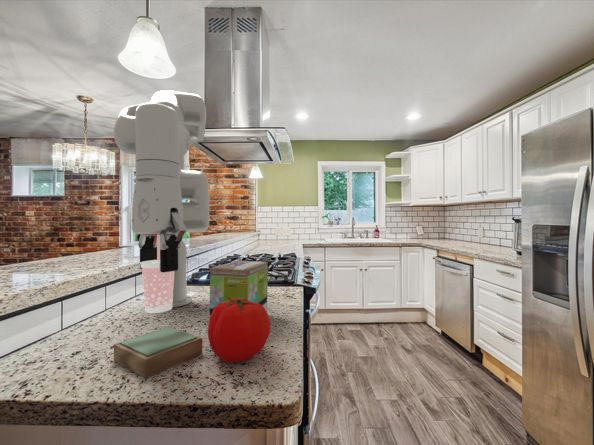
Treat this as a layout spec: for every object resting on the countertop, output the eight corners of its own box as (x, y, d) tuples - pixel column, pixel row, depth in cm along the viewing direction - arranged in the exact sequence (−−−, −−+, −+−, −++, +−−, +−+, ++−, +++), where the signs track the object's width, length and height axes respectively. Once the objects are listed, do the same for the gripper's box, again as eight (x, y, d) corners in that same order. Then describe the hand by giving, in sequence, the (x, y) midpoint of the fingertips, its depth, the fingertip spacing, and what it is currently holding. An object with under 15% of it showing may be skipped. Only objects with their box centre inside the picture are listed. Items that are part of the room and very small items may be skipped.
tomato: (214, 345, 61) (214, 291, 61) (270, 343, 62) (270, 289, 62) (199, 375, 49) (199, 307, 49) (269, 372, 50) (269, 305, 50)
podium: (113, 360, 54) (113, 342, 54) (169, 340, 64) (169, 325, 64) (145, 378, 48) (145, 357, 48) (202, 353, 57) (202, 336, 57)
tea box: (249, 333, 67) (248, 268, 68) (208, 331, 69) (207, 267, 70) (268, 314, 82) (268, 260, 82) (234, 312, 84) (234, 259, 84)
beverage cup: (159, 303, 60) (158, 233, 60) (183, 306, 57) (183, 234, 58) (132, 312, 54) (132, 235, 54) (158, 315, 52) (158, 235, 52)
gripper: (115, 175, 58) (115, 268, 58) (165, 164, 48) (166, 277, 48) (152, 180, 64) (153, 264, 64) (204, 171, 54) (205, 271, 54)
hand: (158, 268), depth 56 cm, fingers closed on beverage cup, 6 cm apart
